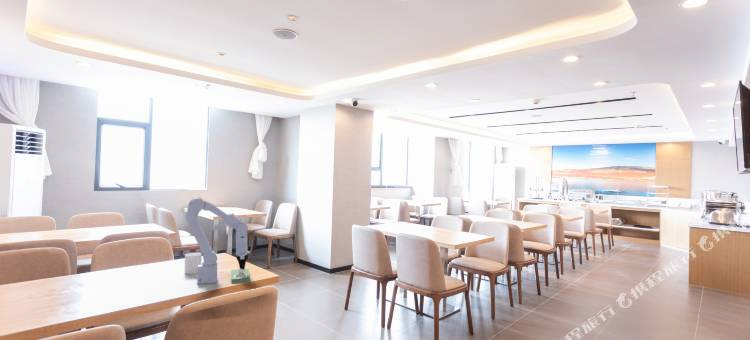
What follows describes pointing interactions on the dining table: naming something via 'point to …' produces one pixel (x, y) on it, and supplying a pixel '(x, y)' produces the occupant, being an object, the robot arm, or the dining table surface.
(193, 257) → the cup
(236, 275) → the green
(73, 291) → the dining table surface
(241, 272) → the ball
